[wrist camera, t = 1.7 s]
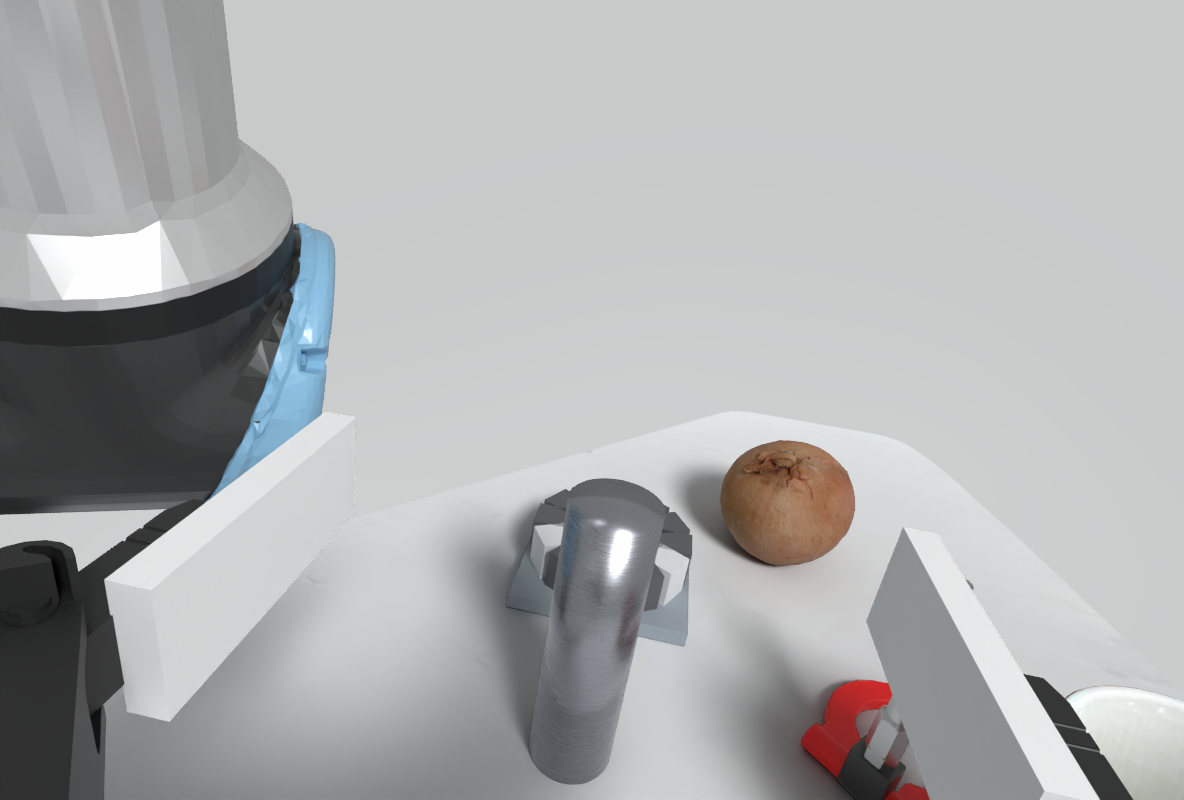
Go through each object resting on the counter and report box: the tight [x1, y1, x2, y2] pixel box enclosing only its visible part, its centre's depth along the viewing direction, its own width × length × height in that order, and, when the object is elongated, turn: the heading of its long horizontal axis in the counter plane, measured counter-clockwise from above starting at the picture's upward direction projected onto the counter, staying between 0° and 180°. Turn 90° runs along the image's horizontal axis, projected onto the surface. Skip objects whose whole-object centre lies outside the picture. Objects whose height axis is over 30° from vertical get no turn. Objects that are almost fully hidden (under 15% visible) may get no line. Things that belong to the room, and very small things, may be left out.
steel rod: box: [529, 479, 666, 784], centre depth 30 cm, size 4×4×14 cm
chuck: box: [507, 487, 692, 646], centre depth 45 cm, size 11×11×4 cm
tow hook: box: [801, 579, 974, 800], centre depth 33 cm, size 8×13×9 cm
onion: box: [720, 440, 855, 566], centre depth 49 cm, size 10×9×10 cm
